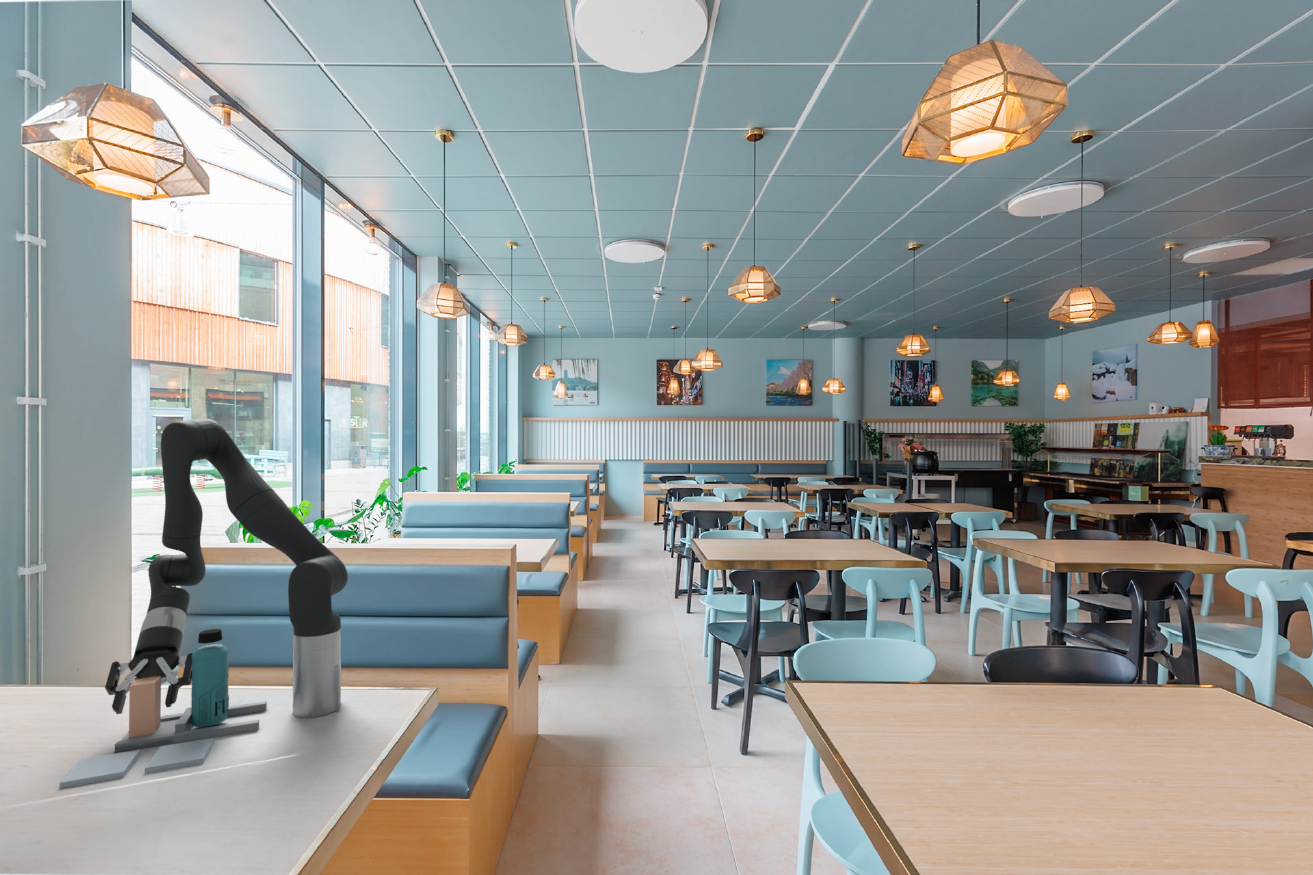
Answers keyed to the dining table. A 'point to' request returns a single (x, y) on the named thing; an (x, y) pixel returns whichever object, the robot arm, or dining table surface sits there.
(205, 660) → the beverage bottle
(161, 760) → the split strip
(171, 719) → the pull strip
